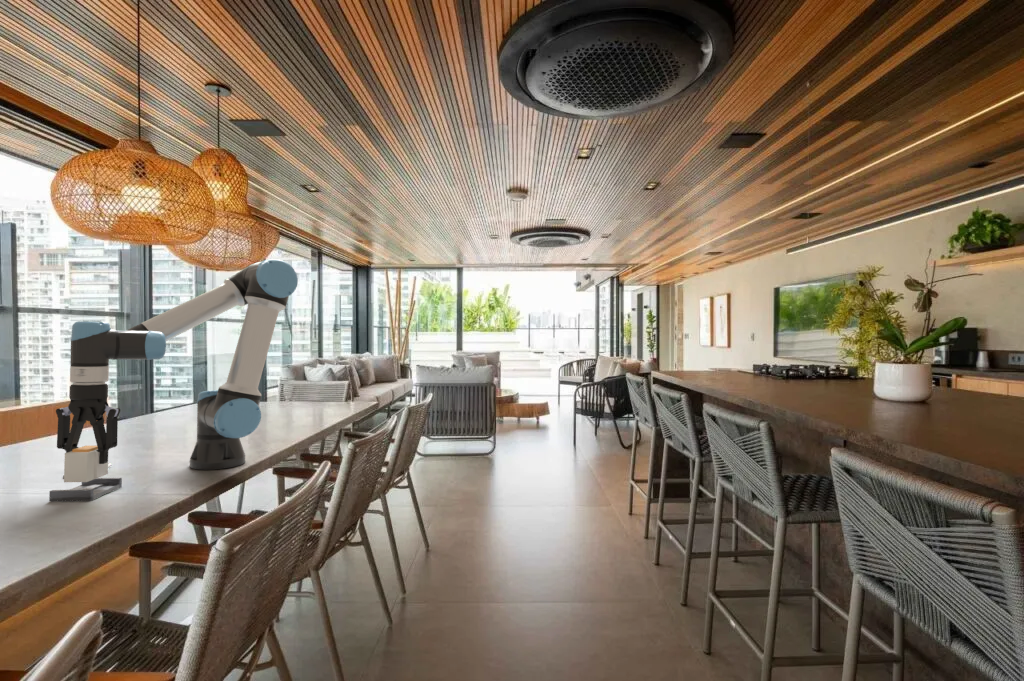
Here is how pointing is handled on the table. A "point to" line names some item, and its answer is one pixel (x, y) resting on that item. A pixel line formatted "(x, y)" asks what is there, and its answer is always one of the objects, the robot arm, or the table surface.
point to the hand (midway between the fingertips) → (86, 476)
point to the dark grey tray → (87, 490)
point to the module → (81, 464)
